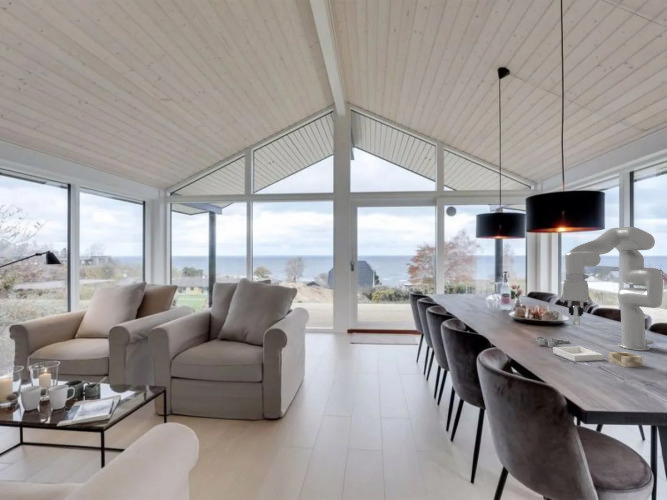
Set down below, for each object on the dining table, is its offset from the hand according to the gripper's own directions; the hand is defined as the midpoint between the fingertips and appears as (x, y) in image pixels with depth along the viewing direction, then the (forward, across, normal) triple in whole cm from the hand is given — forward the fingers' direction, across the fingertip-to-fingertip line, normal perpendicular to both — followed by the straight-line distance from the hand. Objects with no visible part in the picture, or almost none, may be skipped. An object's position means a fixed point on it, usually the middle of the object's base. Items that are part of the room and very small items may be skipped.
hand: (576, 315), depth 165 cm
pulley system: (+21, +14, -20) cm, 32 cm away
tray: (+21, 0, 0) cm, 21 cm away
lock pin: (+5, 0, 0) cm, 5 cm away
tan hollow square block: (+21, -18, +1) cm, 27 cm away
